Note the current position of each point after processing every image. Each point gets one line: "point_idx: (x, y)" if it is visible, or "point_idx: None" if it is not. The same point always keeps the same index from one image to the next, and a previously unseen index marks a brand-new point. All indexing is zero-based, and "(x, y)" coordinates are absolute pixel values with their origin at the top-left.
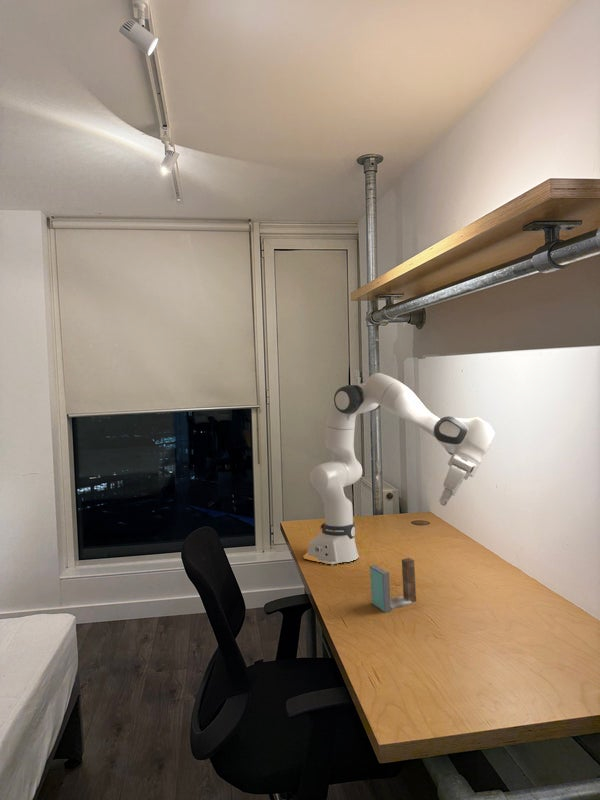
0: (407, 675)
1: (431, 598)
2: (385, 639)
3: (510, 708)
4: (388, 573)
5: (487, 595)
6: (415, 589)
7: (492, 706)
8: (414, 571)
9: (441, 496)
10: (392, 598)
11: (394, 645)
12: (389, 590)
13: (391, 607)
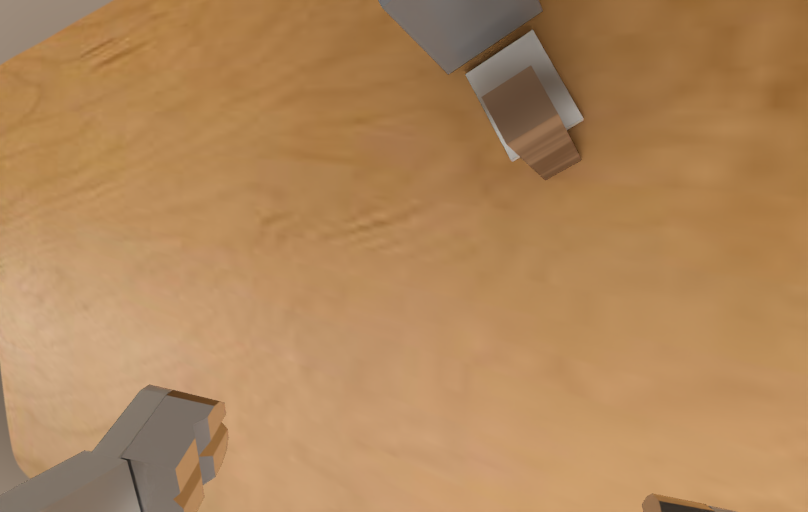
0: (114, 129)
1: (576, 251)
2: (261, 67)
3: (25, 320)
4: (382, 7)
5: (595, 509)
6: (537, 172)
7: (30, 288)
8: (519, 155)
9: (98, 449)
10: (556, 74)
11: (230, 95)
12: (417, 42)
13: (467, 74)
